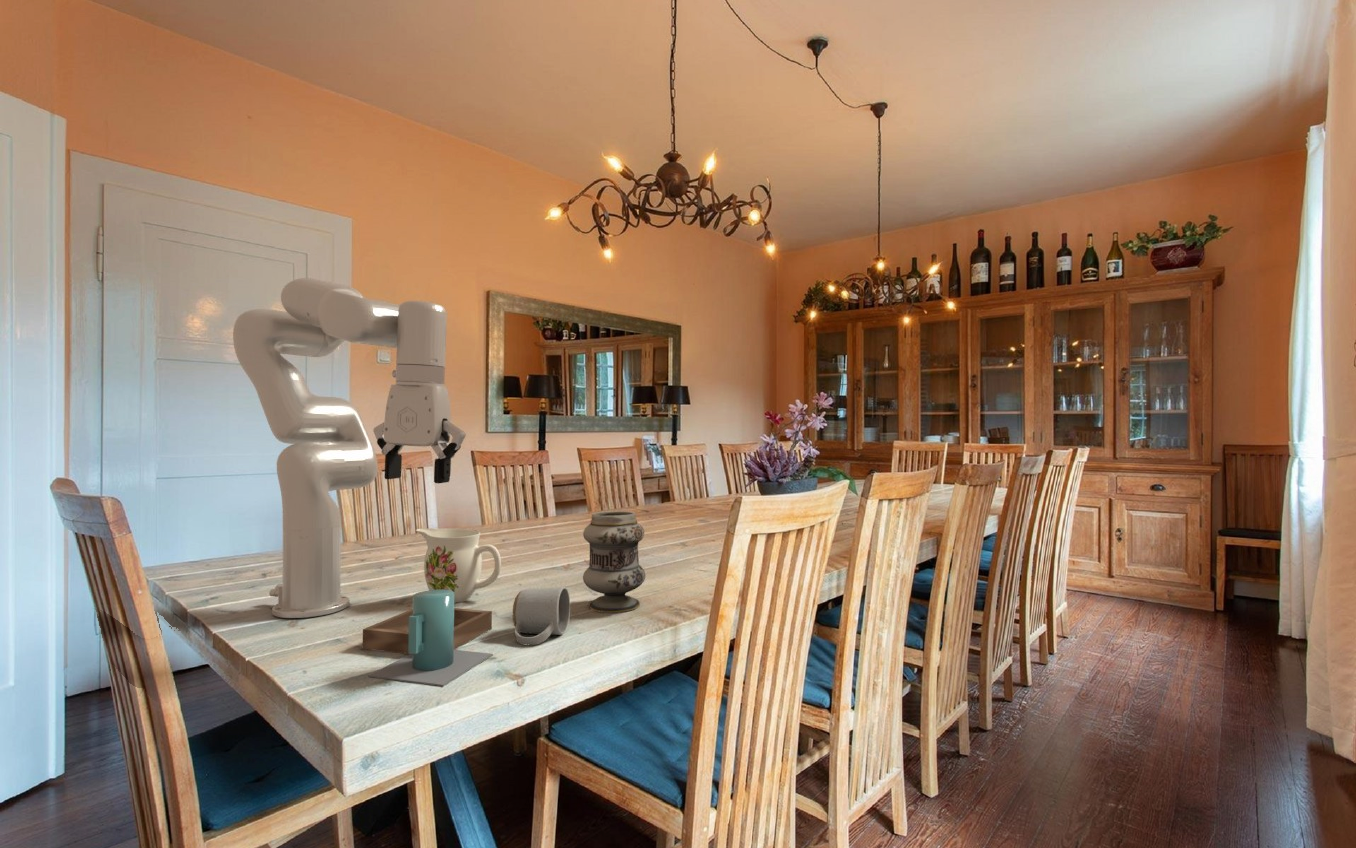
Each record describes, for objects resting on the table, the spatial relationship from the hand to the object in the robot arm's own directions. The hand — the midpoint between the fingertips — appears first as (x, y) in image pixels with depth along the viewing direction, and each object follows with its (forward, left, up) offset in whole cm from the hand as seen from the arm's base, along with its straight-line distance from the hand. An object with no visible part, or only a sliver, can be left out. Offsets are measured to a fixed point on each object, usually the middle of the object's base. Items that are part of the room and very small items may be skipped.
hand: (417, 480), depth 105 cm
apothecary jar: (+25, +25, -26) cm, 44 cm away
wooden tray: (+3, -1, -26) cm, 26 cm away
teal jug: (+11, -11, -25) cm, 30 cm away
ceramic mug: (+20, +6, -26) cm, 33 cm away
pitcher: (-7, +21, -26) cm, 34 cm away
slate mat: (+11, -11, -26) cm, 30 cm away
